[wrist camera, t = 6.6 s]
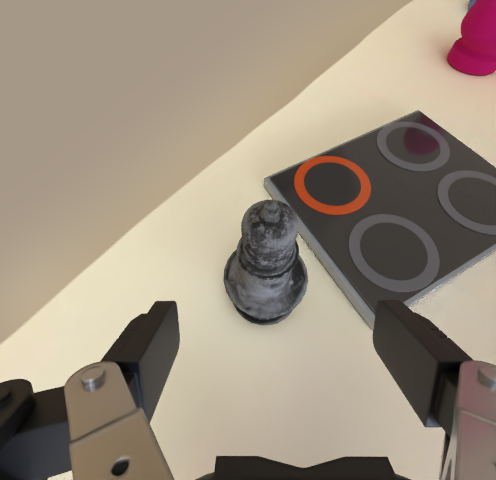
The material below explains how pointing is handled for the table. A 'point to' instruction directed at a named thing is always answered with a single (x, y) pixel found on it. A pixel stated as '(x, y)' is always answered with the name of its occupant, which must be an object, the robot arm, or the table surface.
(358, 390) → the table surface
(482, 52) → the pepper mill
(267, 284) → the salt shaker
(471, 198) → the hob
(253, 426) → the table surface
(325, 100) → the table surface
